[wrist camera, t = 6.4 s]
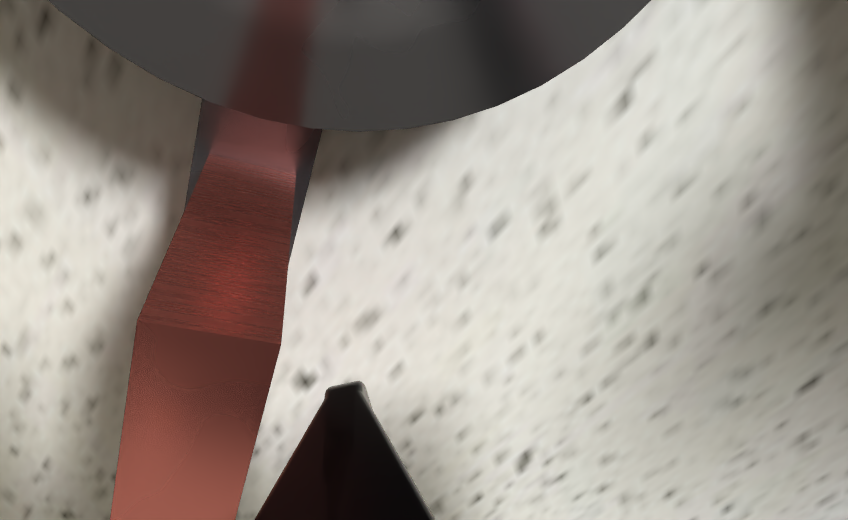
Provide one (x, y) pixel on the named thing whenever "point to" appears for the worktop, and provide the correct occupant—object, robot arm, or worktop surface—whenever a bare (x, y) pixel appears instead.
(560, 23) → the handwheel
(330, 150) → the worktop surface
